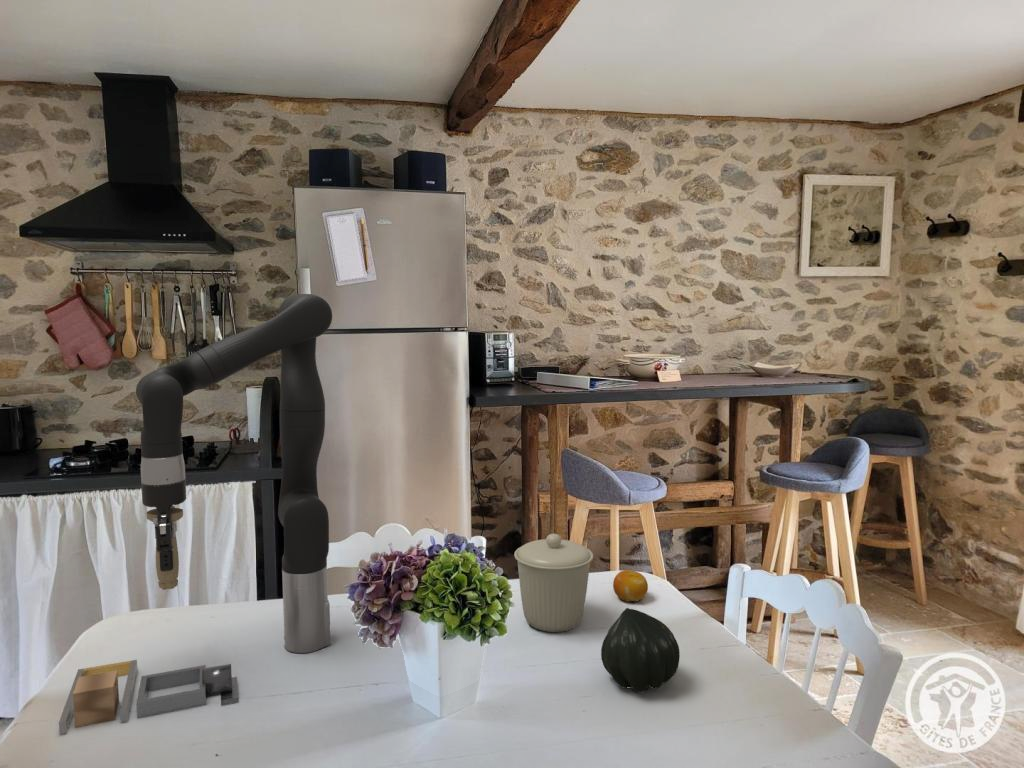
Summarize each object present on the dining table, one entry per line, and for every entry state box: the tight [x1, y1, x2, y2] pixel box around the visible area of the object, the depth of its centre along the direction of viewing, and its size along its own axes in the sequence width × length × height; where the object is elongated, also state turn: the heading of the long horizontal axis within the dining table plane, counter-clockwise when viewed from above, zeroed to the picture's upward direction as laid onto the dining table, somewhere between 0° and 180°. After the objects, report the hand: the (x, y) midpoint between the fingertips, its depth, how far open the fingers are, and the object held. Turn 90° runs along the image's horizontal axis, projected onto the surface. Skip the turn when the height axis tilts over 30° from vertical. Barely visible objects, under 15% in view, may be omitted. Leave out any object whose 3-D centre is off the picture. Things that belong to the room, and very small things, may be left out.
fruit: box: [612, 569, 649, 602], centre depth 179 cm, size 8×8×8 cm
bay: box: [58, 659, 138, 736], centre depth 130 cm, size 10×19×4 cm, turn 23°
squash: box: [600, 607, 681, 693], centre depth 139 cm, size 14×15×15 cm
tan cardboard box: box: [73, 671, 120, 728], centre depth 125 cm, size 6×6×6 cm
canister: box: [514, 533, 594, 633], centre depth 164 cm, size 18×18×21 cm
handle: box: [145, 507, 184, 590], centre depth 136 cm, size 5×6×15 cm
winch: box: [136, 663, 240, 719], centre depth 132 cm, size 16×10×6 cm, turn 113°
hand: (167, 565), depth 137 cm, fingers closed on handle, 4 cm apart
